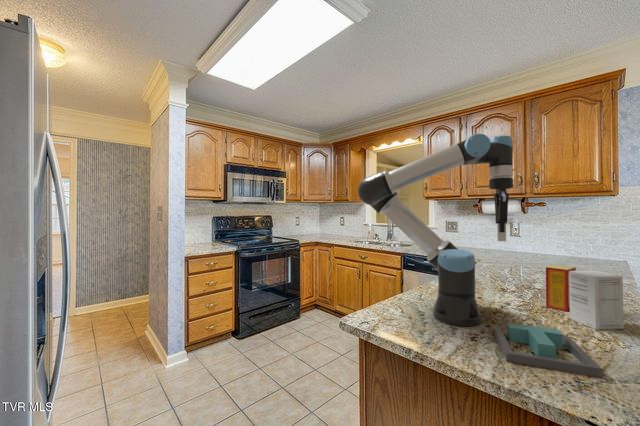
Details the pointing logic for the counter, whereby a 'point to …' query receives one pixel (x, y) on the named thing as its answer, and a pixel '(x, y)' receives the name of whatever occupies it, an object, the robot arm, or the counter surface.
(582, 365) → the frame
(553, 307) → the baking soda box
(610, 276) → the supplement box
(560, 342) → the t block
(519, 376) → the counter surface
